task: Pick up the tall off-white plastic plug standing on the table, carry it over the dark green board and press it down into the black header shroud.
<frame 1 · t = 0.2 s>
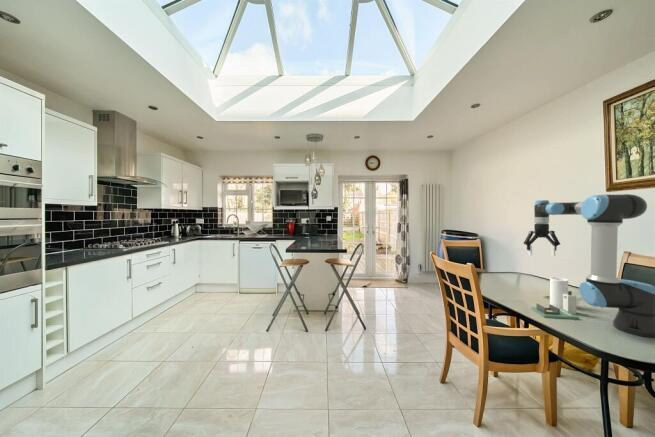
hand: (541, 255, 173), 28 cm above the table, fingers open, 13 cm apart
plug: (569, 312, 146), on the table
cup: (558, 305, 158), on the table
header board: (553, 314, 144), on the table
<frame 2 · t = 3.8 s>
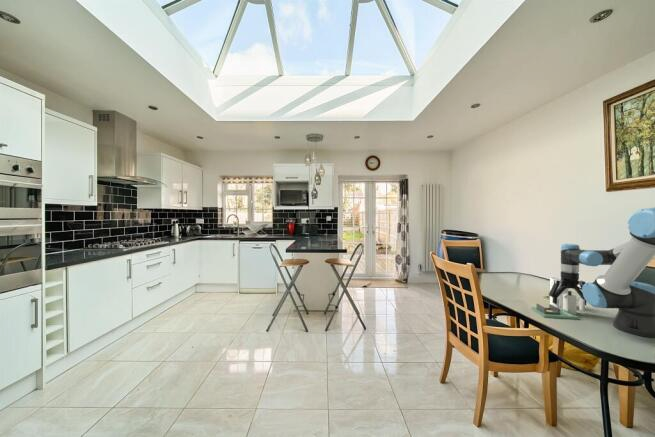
hand: (569, 310, 146), 1 cm above the table, fingers open, 12 cm apart
nothing on the table moved.
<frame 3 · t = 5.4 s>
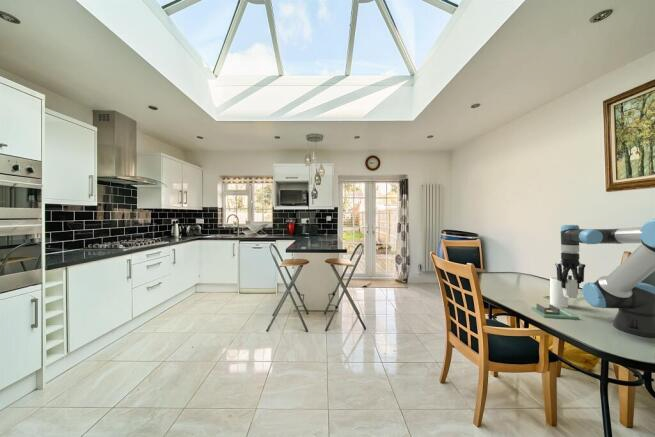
hand: (570, 294, 145), 11 cm above the table, fingers closed on plug, 4 cm apart
plug: (570, 297, 146), point 9 cm above the table, touching gripper
everything else where it was.
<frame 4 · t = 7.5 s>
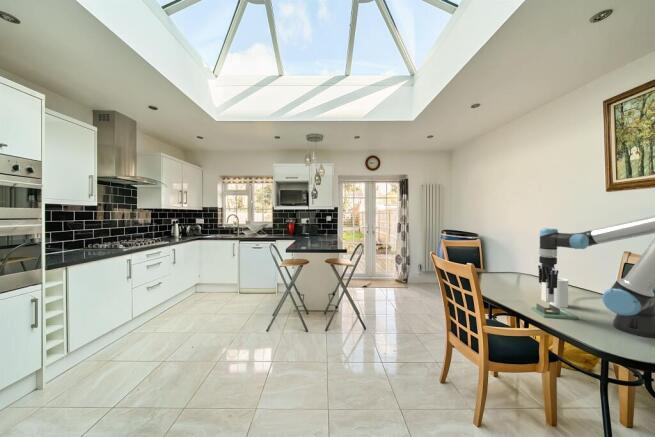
hand: (547, 298, 145), 9 cm above the table, fingers closed on plug, 4 cm apart
plug: (547, 301, 145), point 7 cm above the table, touching gripper
everything else where it was.
when the fingers open (3 cm above the table, at t = 9.6 s): plug stays where it is, resting on header board.
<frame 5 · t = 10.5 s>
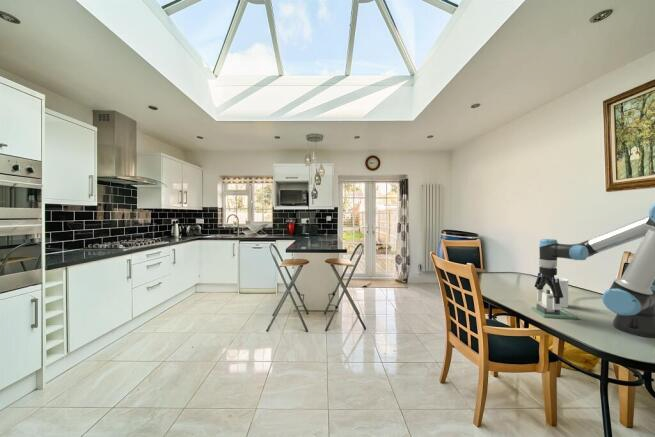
hand: (547, 305, 145), 5 cm above the table, fingers open, 13 cm apart
plug: (548, 311, 145), point 1 cm above the table, touching header board
everything else where it was.
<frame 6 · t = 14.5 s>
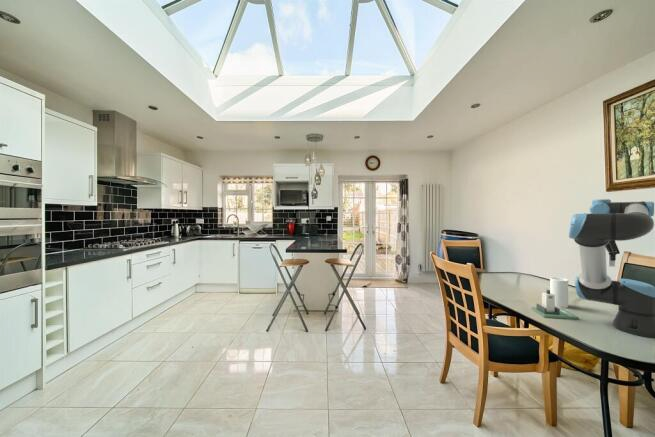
hand: (600, 264, 148), 27 cm above the table, fingers open, 13 cm apart
nothing on the table moved.
at the end: plug 0.2 cm from the target spot on the header board, point 1.3 cm above the header board's base; plug tilted 0°; the gripper is holding nothing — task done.
